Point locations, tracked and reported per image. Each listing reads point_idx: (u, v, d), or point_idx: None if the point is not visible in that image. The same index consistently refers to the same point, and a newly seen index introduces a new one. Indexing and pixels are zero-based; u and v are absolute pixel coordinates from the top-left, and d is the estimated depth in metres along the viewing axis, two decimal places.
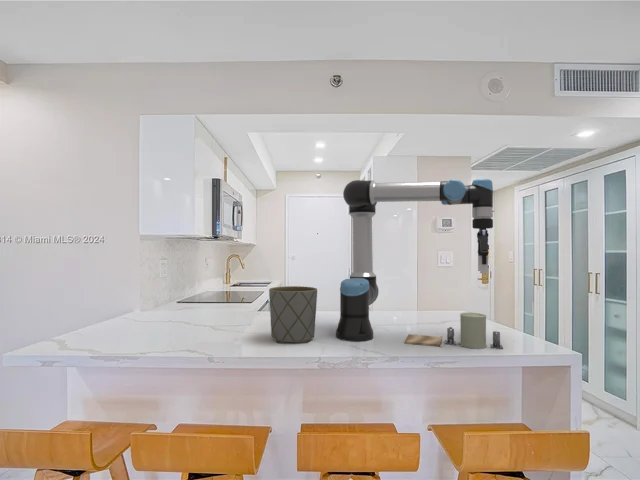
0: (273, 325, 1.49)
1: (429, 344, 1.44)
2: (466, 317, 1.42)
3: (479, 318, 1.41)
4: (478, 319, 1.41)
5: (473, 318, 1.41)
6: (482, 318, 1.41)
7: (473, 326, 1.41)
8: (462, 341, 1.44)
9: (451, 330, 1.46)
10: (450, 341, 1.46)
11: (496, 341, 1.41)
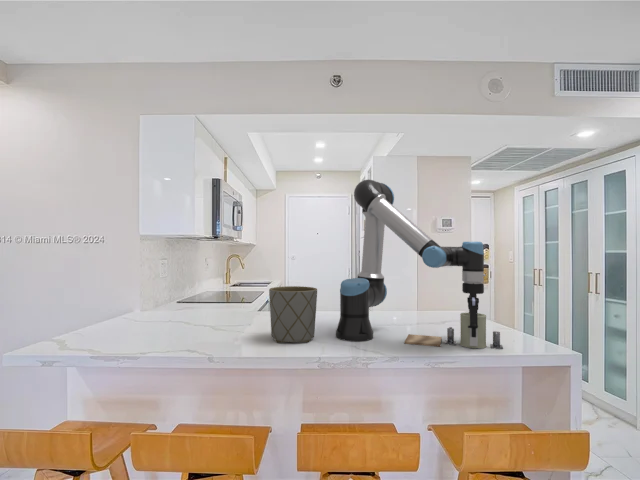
0: (273, 325, 1.49)
1: (429, 344, 1.44)
2: (466, 317, 1.42)
3: (479, 318, 1.41)
4: (478, 319, 1.41)
5: None
6: (482, 318, 1.41)
7: None
8: (462, 341, 1.44)
9: (451, 330, 1.46)
10: (450, 341, 1.46)
11: (496, 341, 1.41)
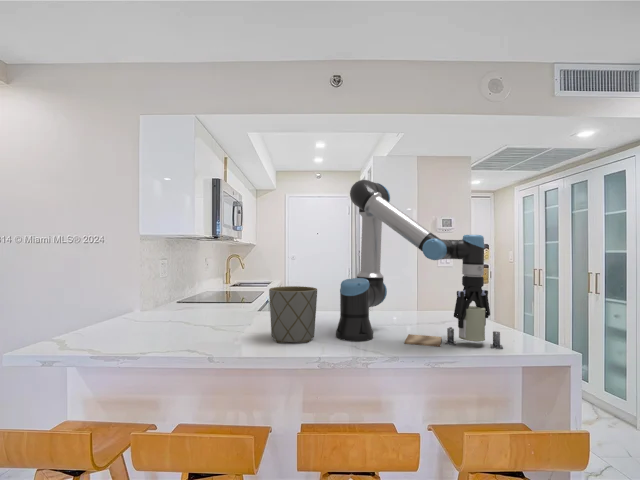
0: (273, 325, 1.49)
1: (429, 344, 1.44)
2: None
3: (468, 310, 1.42)
4: (467, 311, 1.42)
5: None
6: (472, 311, 1.41)
7: None
8: None
9: (451, 330, 1.46)
10: (450, 341, 1.46)
11: (496, 341, 1.41)
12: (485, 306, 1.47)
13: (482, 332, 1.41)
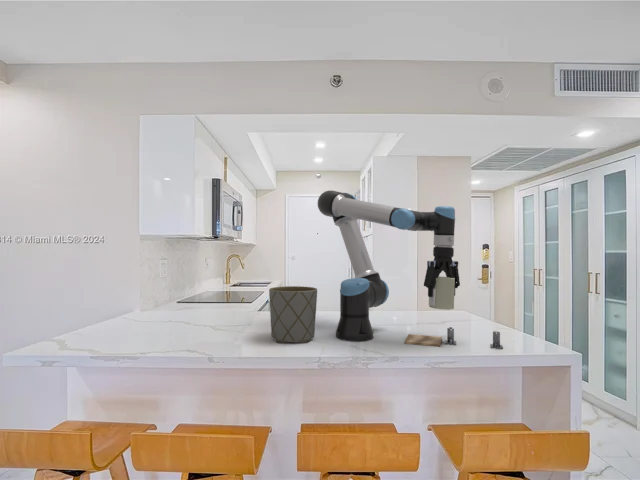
0: (273, 325, 1.49)
1: (429, 344, 1.44)
2: None
3: (438, 279, 1.46)
4: (437, 280, 1.46)
5: None
6: (441, 280, 1.45)
7: None
8: None
9: (451, 330, 1.46)
10: (450, 341, 1.46)
11: (496, 341, 1.41)
12: (455, 277, 1.52)
13: (451, 301, 1.46)
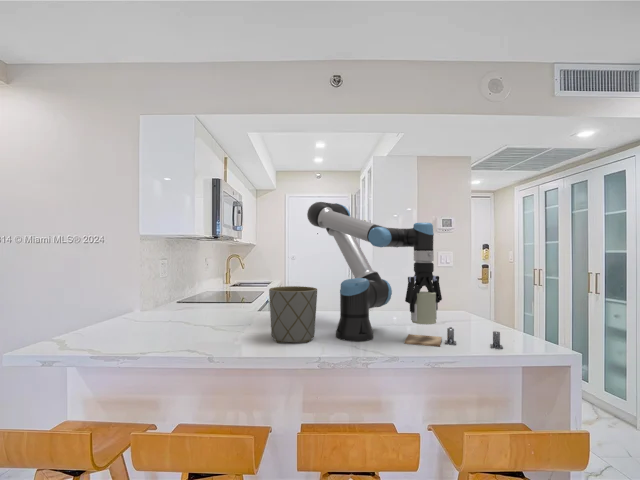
0: (273, 325, 1.49)
1: (429, 344, 1.44)
2: None
3: (419, 295, 1.48)
4: (418, 296, 1.48)
5: None
6: (422, 295, 1.47)
7: None
8: None
9: (451, 330, 1.46)
10: (450, 341, 1.46)
11: (496, 341, 1.41)
12: (437, 291, 1.53)
13: (432, 315, 1.47)
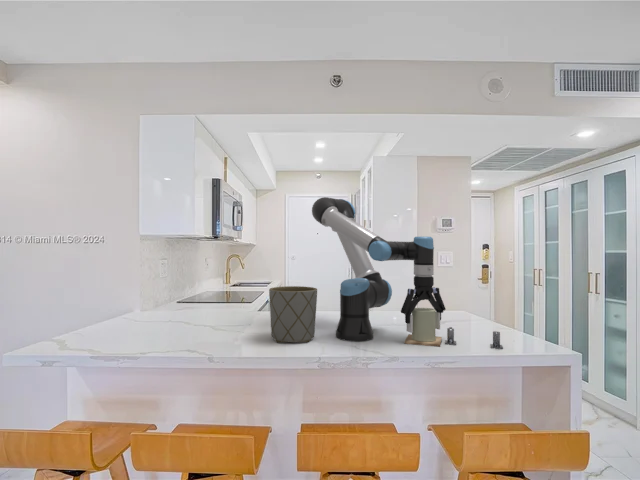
0: (273, 325, 1.49)
1: (429, 344, 1.44)
2: None
3: (418, 312, 1.48)
4: (418, 313, 1.48)
5: (414, 311, 1.49)
6: (422, 313, 1.47)
7: (414, 319, 1.49)
8: None
9: (451, 330, 1.46)
10: (450, 341, 1.46)
11: (496, 341, 1.41)
12: (439, 302, 1.54)
13: (432, 333, 1.47)
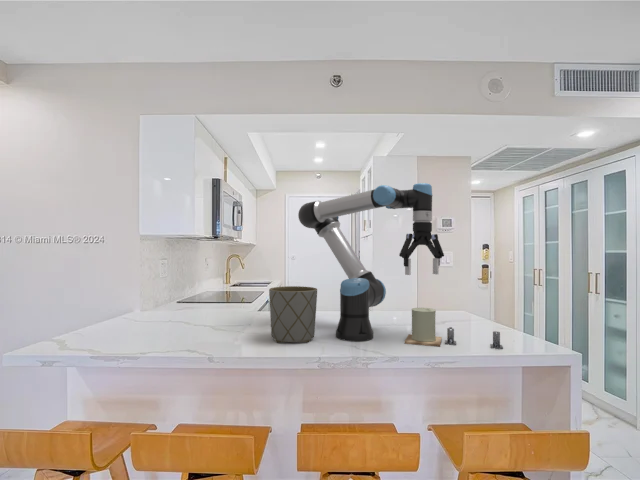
0: (273, 325, 1.49)
1: (429, 344, 1.44)
2: None
3: (418, 312, 1.48)
4: (418, 313, 1.48)
5: (414, 311, 1.49)
6: (422, 313, 1.47)
7: (414, 319, 1.49)
8: None
9: (451, 330, 1.46)
10: (450, 341, 1.46)
11: (496, 341, 1.41)
12: (438, 248, 1.59)
13: (432, 333, 1.47)
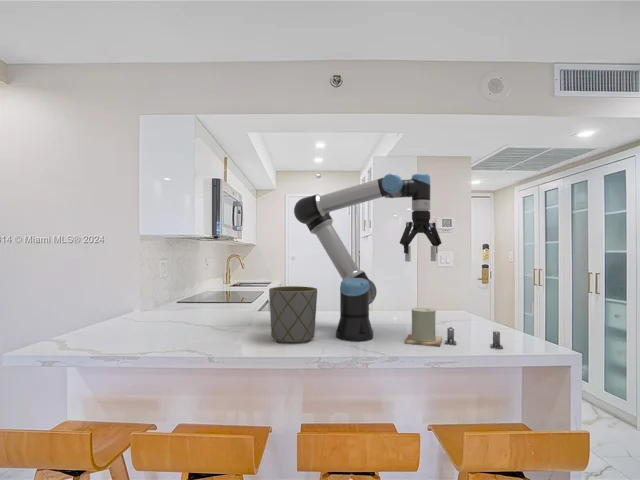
0: (273, 325, 1.49)
1: (429, 344, 1.44)
2: None
3: (418, 312, 1.48)
4: (418, 313, 1.48)
5: (414, 311, 1.49)
6: (422, 313, 1.47)
7: (414, 319, 1.49)
8: None
9: (451, 330, 1.46)
10: (450, 341, 1.46)
11: (496, 341, 1.41)
12: (435, 236, 1.65)
13: (432, 333, 1.47)
